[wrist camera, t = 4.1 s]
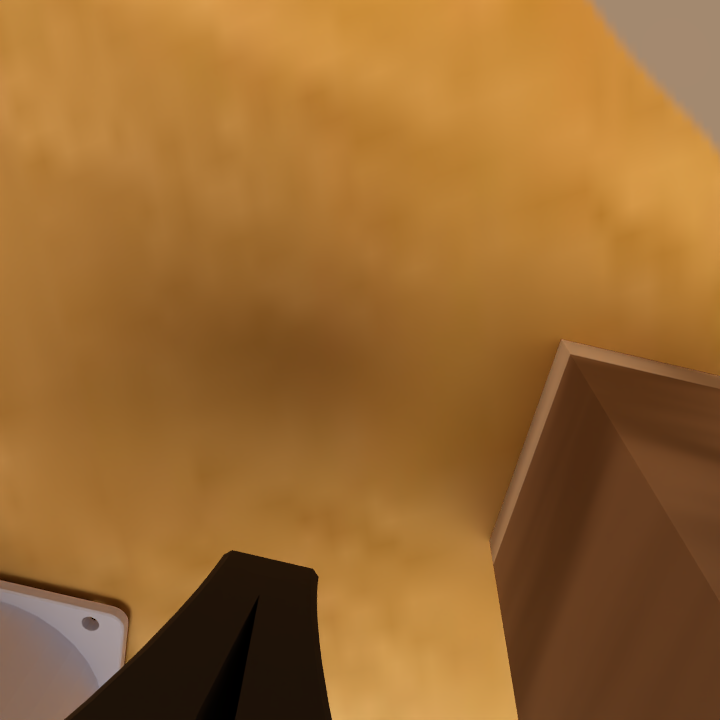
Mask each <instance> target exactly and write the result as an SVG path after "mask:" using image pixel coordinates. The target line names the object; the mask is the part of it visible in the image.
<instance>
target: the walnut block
mask: <svg viewBox="0 0 720 720" xmlns="http://www.w3.org/2000/svg"><path fill="white" fill-rule="evenodd" d="M490 548H491V554H492V560H493V566H494V572H495V578H496V584H497V591H498V597H499V603H500V609H501V615H502V621H503V628H504V634H505V640H506V646H507V652H508V658H509V665H510V671H511V677H512V683H513V689H514V695H515V702H516V708H517V714H518V720H720V376H718V375H713V374H709V373H705V372H700V371H696V370H692V369H688V368H683V367H679V366H675V365H670V364H666V363H662V362H658V361H653V360H649V359H645V358H640V357H636V356H632V355H627V354H623V353H619V352H615V351H610V350H606V349H602V348H597V347H593V346H589V345H585V344H580V343H576V342H572V341H567V340H563V339H561V341H560V344H559V347H558V350H557V352H556V355H555V358H554V361H553V364H552V367H551V369H550V372H549V375H548V378H547V381H546V383H545V386H544V389H543V392H542V395H541V397H540V400H539V403H538V406H537V409H536V411H535V414H534V417H533V420H532V423H531V426H530V428H529V431H528V434H527V437H526V440H525V442H524V445H523V448H522V451H521V454H520V456H519V459H518V462H517V465H516V468H515V470H514V473H513V476H512V479H511V482H510V485H509V487H508V490H507V493H506V496H505V499H504V501H503V504H502V507H501V510H500V513H499V515H498V518H497V521H496V524H495V527H494V529H493V532H492V535H491V538H490Z"/></svg>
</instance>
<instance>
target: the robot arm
mask: <svg viewBox="0 0 720 720" xmlns="http://www.w3.org/2000/svg"><path fill="white" fill-rule="evenodd" d="M317 584H318V575H317V574H316V573H315V571H314V570H313V569H311V568H307V567H303V566H298V565H294V564H290V563H285V562H281V561H277V560H272V559H268V558H264V557H259V556H255V555H251V554H246V553H242V552H238V551H233V550H232V551H230V552H228V553H226V554H224V555H223V557H222V558H221V559H220V561H219V562H218V564H217V565H216V566H215V568H214V569H213V570H212V572H211V573H210V574H209V575H208V577H207V578H206V579H205V580H204V582H203V583H202V584H201V585H200V586H199V588H198V589H197V590H196V591H195V592H194V593H193V594H192V596H191V597H190V598H189V599H188V600H187V601H186V602H185V603H184V605H183V606H182V607H181V608H180V609H179V610H178V611H177V612H176V614H175V615H174V616H173V617H172V618H171V619H170V620H169V621H168V622H167V623H166V624H165V625H164V626H163V627H162V628H161V629H160V630H159V631H158V632H157V633H156V634H155V635H154V636H153V637H152V638H151V639H150V640H149V641H148V643H147V644H146V645H145V646H144V647H143V648H142V649H141V650H140V651H139V652H138V653H137V654H136V655H135V656H134V657H133V658H131V659H130V660H129V661H128V662H127V663H126V664H125V665H124V660H125V651H126V641H127V632H128V617H127V616H126V614H125V613H124V612H123V611H122V610H121V609H119V608H117V607H114V606H110V605H106V604H102V603H97V602H93V601H89V600H84V599H80V598H76V597H71V596H67V595H63V594H59V593H54V592H50V591H46V590H41V589H37V588H33V587H28V586H24V585H20V584H15V583H11V582H7V581H2V580H0V720H332V718H331V713H330V708H329V703H328V697H327V690H326V684H325V678H324V672H323V666H322V659H321V651H320V643H319V632H318V620H317ZM90 617H92V618H94V619H96V620H97V621H95V620H93V619H91V618H90Z"/></svg>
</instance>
